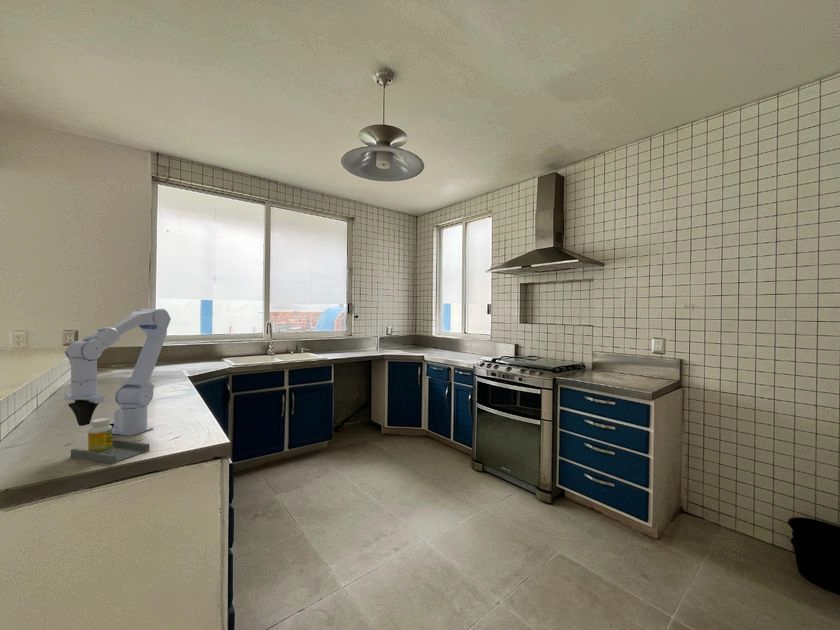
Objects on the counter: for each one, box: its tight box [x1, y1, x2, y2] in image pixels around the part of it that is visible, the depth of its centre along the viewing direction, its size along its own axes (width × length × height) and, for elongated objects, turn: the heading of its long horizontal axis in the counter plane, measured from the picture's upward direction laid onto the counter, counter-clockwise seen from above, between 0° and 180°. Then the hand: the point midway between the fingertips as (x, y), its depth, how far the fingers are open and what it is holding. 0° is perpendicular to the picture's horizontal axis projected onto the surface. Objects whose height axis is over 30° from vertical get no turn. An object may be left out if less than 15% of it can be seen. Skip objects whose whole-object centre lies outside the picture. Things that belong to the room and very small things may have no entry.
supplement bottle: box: [87, 417, 113, 453], centre depth 104 cm, size 5×5×10 cm
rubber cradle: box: [70, 437, 151, 465], centre depth 103 cm, size 17×10×2 cm, turn 73°
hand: (84, 424), depth 106 cm, fingers closed
